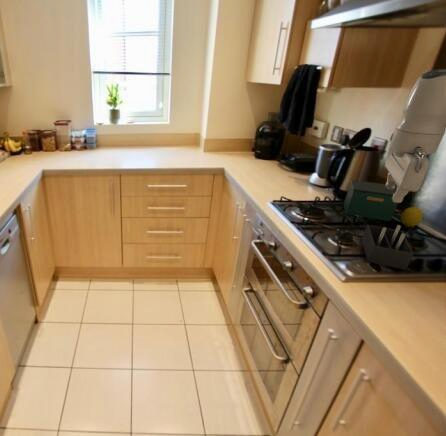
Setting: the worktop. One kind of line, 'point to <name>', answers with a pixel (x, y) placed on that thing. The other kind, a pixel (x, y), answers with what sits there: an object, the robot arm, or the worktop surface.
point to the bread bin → (370, 200)
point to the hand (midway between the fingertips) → (392, 194)
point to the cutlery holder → (387, 247)
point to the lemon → (411, 216)
